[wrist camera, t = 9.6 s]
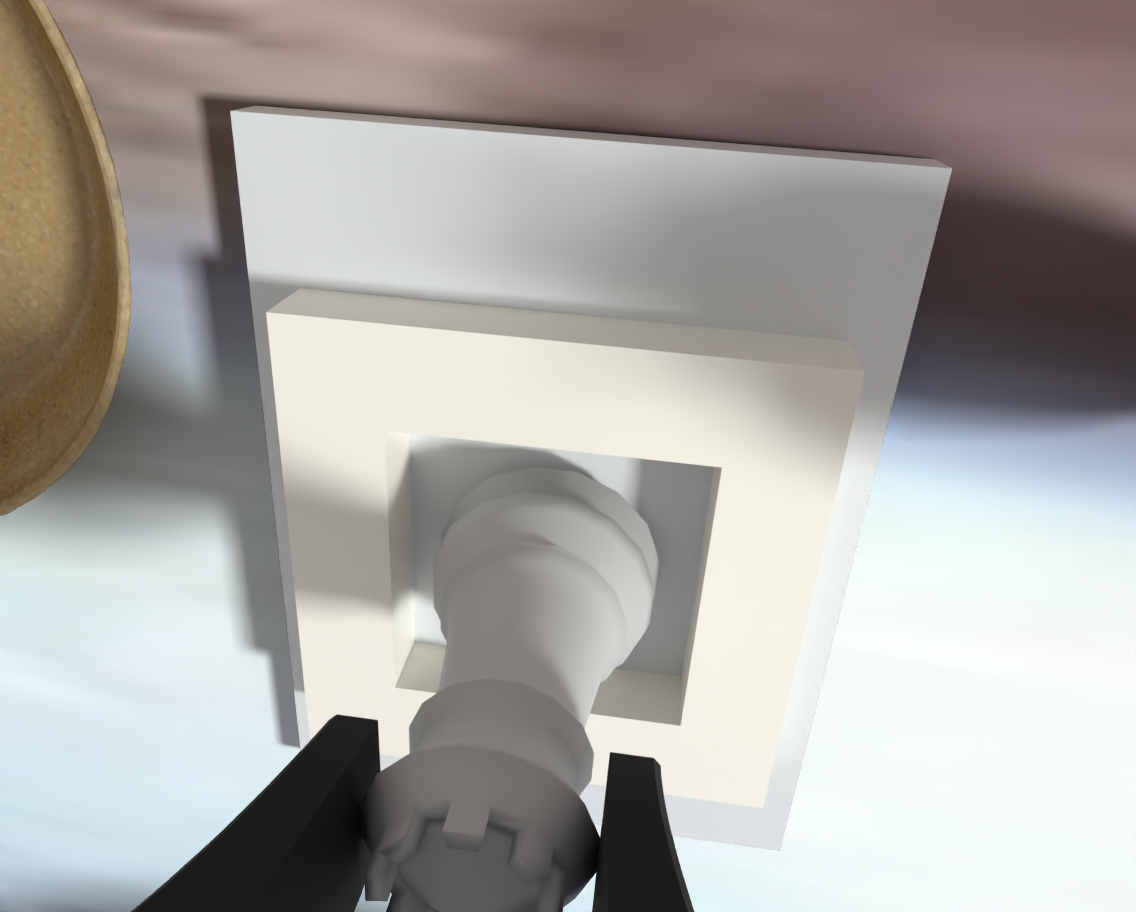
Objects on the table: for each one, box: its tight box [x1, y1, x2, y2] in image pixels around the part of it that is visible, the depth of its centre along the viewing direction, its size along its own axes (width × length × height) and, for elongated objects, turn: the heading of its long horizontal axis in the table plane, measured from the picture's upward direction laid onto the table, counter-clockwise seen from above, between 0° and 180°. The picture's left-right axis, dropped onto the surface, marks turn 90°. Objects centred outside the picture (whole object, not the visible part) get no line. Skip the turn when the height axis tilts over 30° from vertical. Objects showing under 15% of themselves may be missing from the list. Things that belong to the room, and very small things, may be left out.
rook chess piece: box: [361, 467, 660, 912], centre depth 14 cm, size 4×4×8 cm
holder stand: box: [230, 106, 952, 851], centre depth 18 cm, size 16×12×2 cm
